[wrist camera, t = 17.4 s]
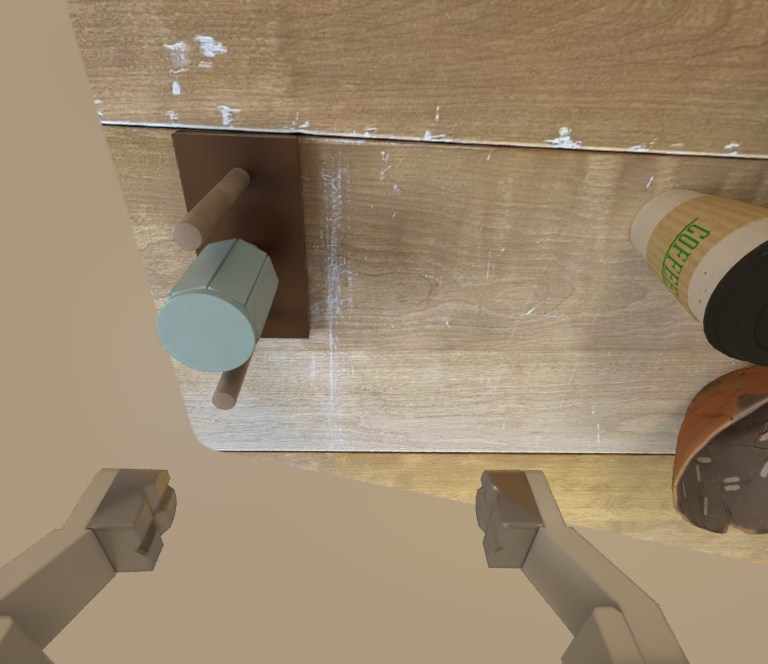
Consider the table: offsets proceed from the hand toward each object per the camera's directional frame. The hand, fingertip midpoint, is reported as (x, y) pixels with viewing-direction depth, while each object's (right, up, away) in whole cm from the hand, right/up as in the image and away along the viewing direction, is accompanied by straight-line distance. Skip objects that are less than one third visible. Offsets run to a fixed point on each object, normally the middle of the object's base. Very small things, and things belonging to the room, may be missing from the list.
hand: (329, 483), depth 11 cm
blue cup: (-10, +8, +22) cm, 25 cm away
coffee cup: (+26, +14, +27) cm, 40 cm away
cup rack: (-10, +12, +27) cm, 31 cm away
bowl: (+43, -3, +40) cm, 59 cm away
